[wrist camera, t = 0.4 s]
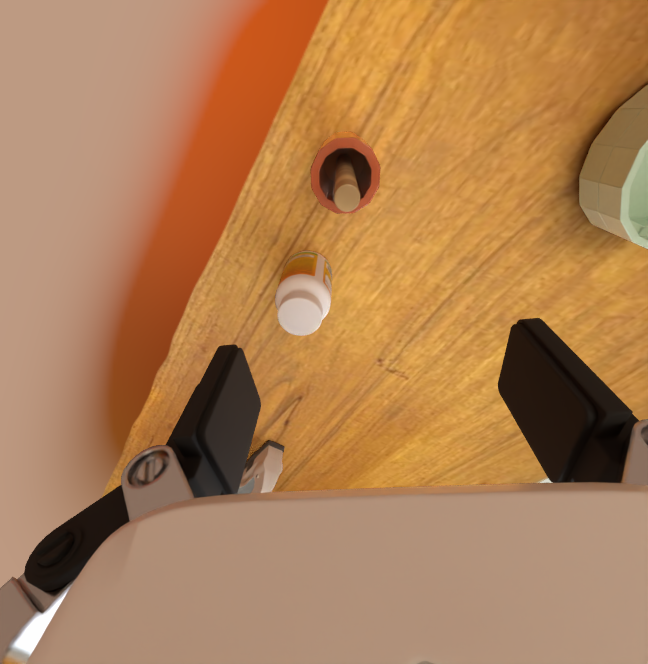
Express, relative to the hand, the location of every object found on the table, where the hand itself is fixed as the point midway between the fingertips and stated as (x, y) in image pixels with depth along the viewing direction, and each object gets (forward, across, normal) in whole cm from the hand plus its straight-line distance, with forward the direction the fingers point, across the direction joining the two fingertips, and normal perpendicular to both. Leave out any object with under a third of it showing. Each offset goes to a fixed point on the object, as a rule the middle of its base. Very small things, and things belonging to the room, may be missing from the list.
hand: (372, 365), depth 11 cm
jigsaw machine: (+25, +22, +44) cm, 55 cm away
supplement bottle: (+25, +5, +7) cm, 26 cm away
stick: (+24, 0, -4) cm, 24 cm away
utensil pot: (+25, 0, -4) cm, 25 cm away
